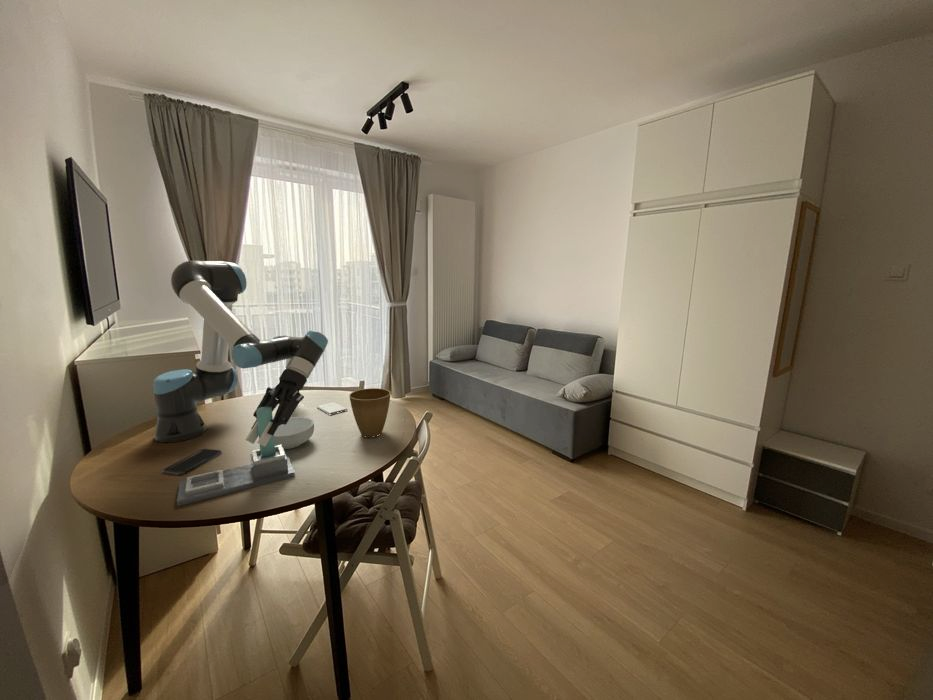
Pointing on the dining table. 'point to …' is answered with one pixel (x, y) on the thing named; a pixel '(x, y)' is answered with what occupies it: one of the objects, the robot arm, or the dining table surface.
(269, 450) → the plug
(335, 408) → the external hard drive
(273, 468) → the grey slotted holder
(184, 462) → the phone
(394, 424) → the dining table surface
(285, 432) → the cereal bowl
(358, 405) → the plant pot
